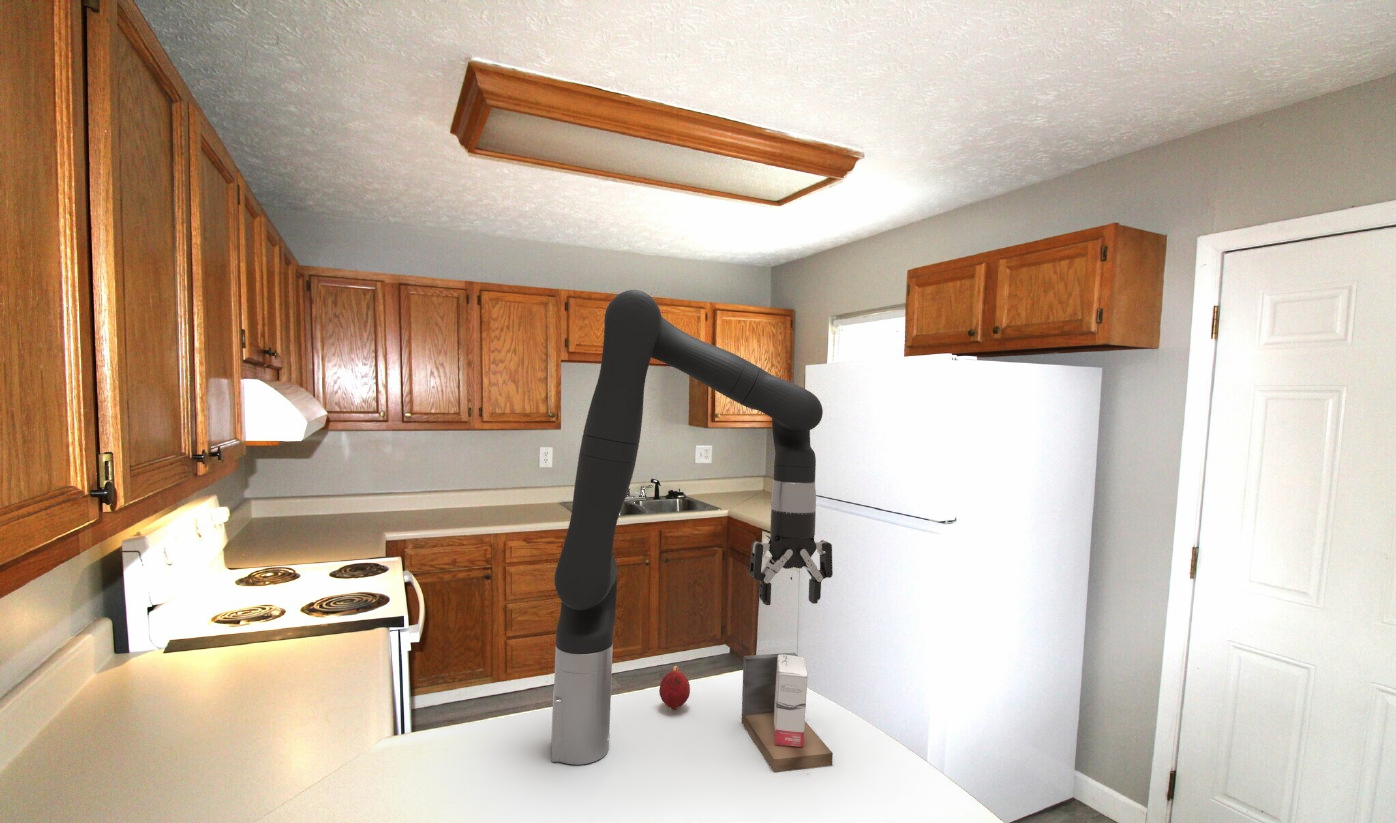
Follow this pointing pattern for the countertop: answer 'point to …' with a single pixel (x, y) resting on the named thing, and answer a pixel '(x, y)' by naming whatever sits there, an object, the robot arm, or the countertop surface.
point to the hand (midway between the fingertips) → (790, 603)
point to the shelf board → (761, 719)
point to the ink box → (790, 701)
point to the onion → (674, 689)
